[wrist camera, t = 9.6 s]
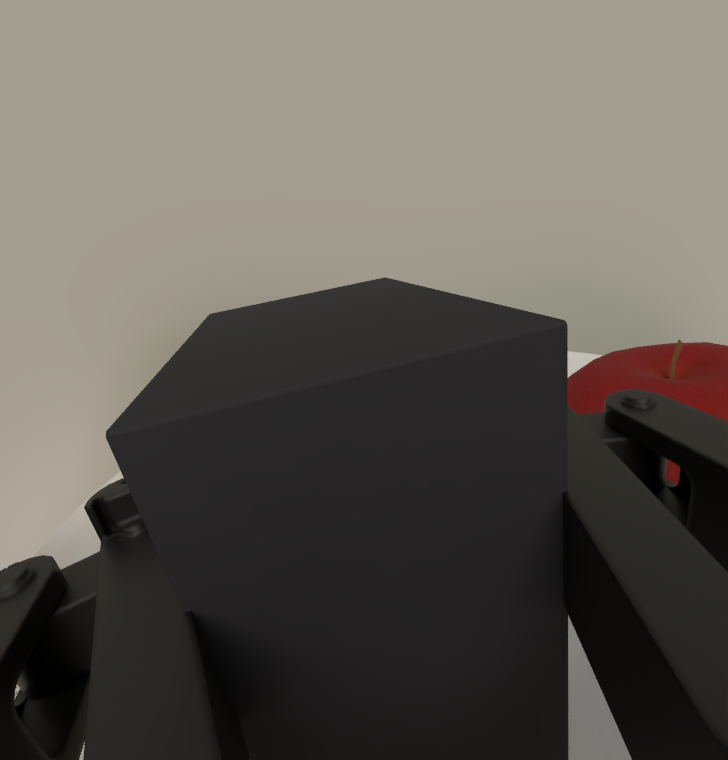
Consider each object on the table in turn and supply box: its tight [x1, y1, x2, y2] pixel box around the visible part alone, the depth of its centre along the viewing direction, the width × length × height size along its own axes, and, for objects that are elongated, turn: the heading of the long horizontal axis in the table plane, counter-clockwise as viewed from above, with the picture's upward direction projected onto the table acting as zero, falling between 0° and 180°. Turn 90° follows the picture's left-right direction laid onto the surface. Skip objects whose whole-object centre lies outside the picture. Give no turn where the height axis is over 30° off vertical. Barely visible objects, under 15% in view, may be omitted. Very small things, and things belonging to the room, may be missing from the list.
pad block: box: [106, 278, 568, 760], centre depth 11 cm, size 6×9×10 cm, turn 13°
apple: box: [567, 340, 728, 485], centre depth 22 cm, size 12×12×13 cm
